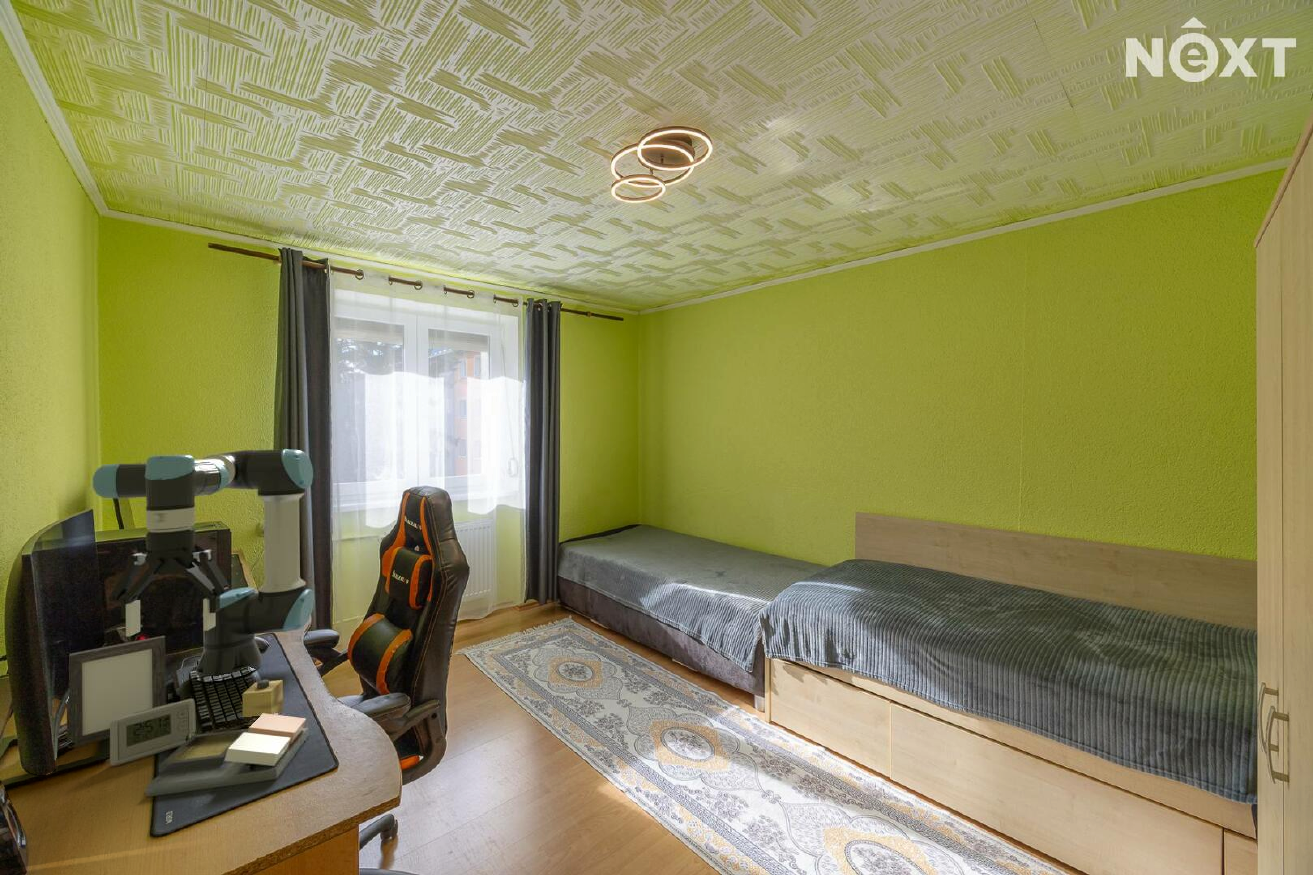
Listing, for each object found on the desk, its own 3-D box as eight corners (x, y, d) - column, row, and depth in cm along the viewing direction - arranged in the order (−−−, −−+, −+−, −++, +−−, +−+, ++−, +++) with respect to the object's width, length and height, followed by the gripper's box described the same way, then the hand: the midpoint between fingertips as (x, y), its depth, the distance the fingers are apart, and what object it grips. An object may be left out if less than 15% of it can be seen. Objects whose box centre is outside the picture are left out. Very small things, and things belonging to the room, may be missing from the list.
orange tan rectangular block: (259, 723, 119) (262, 713, 119) (303, 728, 121) (306, 718, 121) (245, 738, 113) (248, 727, 113) (291, 743, 115) (294, 732, 115)
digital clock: (105, 770, 110) (105, 727, 110) (116, 752, 116) (116, 711, 116) (193, 748, 118) (192, 707, 118) (199, 732, 124) (198, 693, 124)
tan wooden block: (255, 714, 132) (255, 677, 132) (282, 711, 133) (282, 675, 133) (242, 727, 126) (242, 688, 126) (271, 724, 128) (271, 685, 128)
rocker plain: (240, 743, 111) (244, 732, 111) (287, 748, 113) (290, 737, 113) (224, 760, 105) (228, 748, 106) (274, 765, 107) (277, 753, 108)
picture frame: (66, 751, 117) (66, 656, 117) (68, 747, 118) (67, 653, 118) (165, 724, 128) (164, 637, 128) (165, 720, 129) (164, 634, 129)
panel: (194, 749, 117) (194, 733, 117) (309, 735, 122) (308, 720, 122) (143, 797, 102) (142, 778, 102) (276, 778, 107) (276, 761, 107)
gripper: (83, 535, 104) (84, 643, 104) (229, 529, 109) (230, 632, 109) (114, 528, 111) (114, 629, 111) (249, 523, 116) (249, 620, 116)
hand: (171, 631), depth 110 cm, fingers open, 13 cm apart
